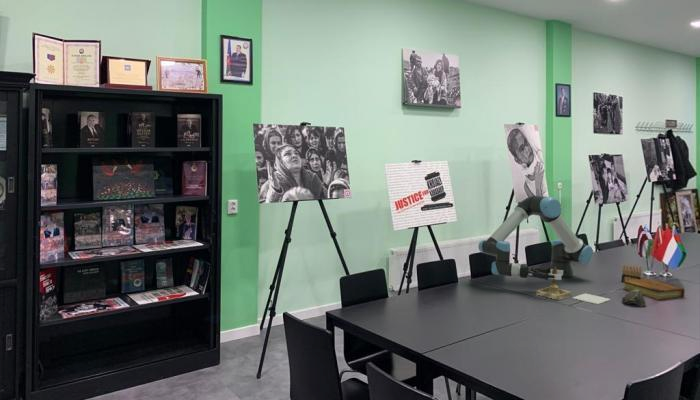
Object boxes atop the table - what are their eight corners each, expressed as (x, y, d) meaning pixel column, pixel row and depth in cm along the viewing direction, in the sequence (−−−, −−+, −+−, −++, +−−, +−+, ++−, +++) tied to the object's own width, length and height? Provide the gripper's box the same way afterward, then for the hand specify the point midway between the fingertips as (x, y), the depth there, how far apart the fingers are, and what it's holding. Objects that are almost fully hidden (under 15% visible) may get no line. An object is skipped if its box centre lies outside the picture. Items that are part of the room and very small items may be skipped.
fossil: (615, 300, 268) (625, 283, 268) (630, 307, 269) (639, 291, 269) (628, 305, 258) (638, 288, 257) (643, 313, 258) (653, 296, 258)
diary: (684, 298, 277) (684, 288, 276) (658, 301, 271) (659, 291, 270) (647, 287, 298) (647, 278, 298) (622, 290, 292) (623, 280, 292)
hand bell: (544, 293, 283) (546, 265, 282) (560, 294, 281) (562, 266, 279) (546, 297, 275) (547, 268, 274) (562, 298, 273) (563, 269, 271)
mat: (572, 298, 273) (572, 297, 273) (585, 294, 281) (585, 293, 281) (598, 304, 262) (598, 303, 262) (610, 300, 270) (610, 299, 270)
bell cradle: (535, 295, 279) (535, 290, 279) (548, 291, 287) (549, 286, 287) (558, 300, 268) (558, 296, 268) (571, 296, 277) (571, 291, 276)
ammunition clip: (641, 285, 303) (642, 265, 301) (640, 285, 301) (641, 265, 300) (622, 281, 310) (623, 262, 309) (621, 282, 309) (622, 263, 308)
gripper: (523, 272, 296) (563, 277, 286) (516, 281, 275) (560, 286, 265) (523, 260, 295) (564, 264, 285) (517, 268, 274) (560, 272, 264)
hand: (562, 275), depth 275 cm, fingers open, 11 cm apart
